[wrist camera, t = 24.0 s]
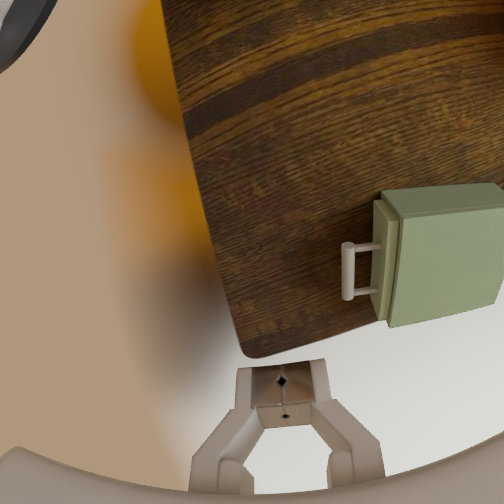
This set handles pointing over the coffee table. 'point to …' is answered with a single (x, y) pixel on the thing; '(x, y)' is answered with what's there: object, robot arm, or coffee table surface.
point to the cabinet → (446, 250)
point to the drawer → (375, 260)
